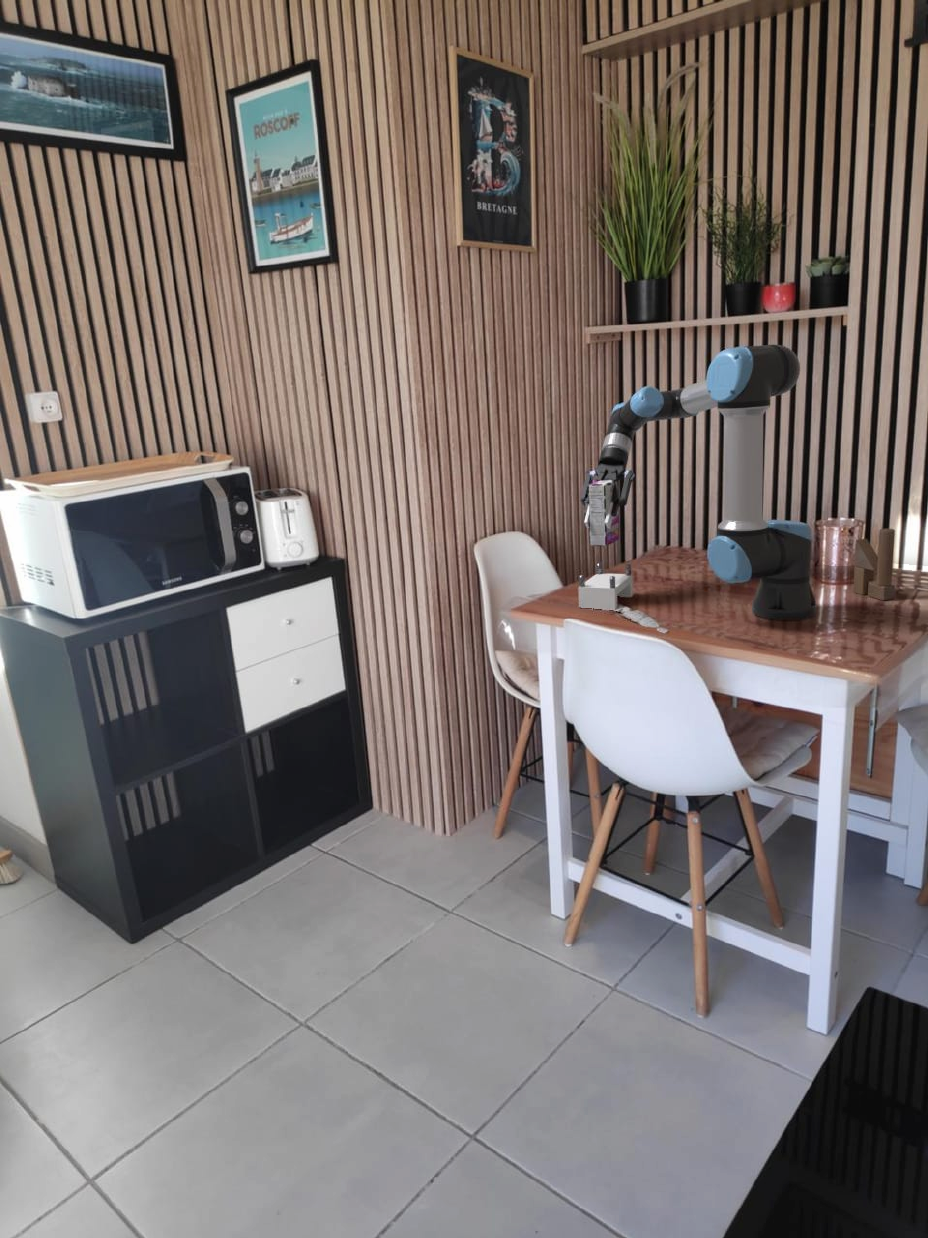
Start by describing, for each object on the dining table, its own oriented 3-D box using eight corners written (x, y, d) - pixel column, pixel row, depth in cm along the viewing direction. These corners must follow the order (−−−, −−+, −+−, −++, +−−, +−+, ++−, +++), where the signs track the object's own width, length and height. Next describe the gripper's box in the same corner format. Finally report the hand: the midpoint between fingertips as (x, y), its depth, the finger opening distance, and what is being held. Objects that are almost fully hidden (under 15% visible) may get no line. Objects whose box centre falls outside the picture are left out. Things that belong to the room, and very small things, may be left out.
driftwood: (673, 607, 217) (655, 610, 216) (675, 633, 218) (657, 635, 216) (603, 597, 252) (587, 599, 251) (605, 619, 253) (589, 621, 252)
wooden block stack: (863, 590, 241) (867, 523, 236) (894, 599, 231) (899, 529, 227) (852, 592, 240) (855, 525, 235) (883, 601, 230) (887, 531, 225)
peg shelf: (632, 595, 252) (632, 564, 250) (615, 610, 239) (614, 577, 236) (598, 593, 257) (597, 562, 254) (579, 608, 243) (577, 575, 241)
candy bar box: (602, 539, 249) (601, 479, 245) (619, 539, 247) (619, 479, 243) (588, 545, 239) (587, 483, 235) (606, 546, 237) (606, 483, 233)
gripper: (650, 462, 245) (633, 534, 236) (587, 463, 253) (568, 532, 244) (644, 444, 239) (627, 517, 230) (580, 446, 247) (560, 516, 238)
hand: (597, 525), depth 237 cm, fingers closed on candy bar box, 5 cm apart
